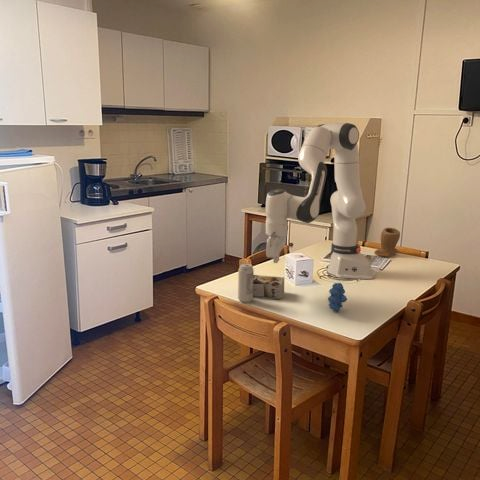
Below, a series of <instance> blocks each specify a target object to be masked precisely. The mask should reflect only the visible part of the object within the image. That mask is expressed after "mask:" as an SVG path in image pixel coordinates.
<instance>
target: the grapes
mask: <svg viewBox="0 0 480 480" xmlns="http://www.w3.org/2000/svg"><path fill="white" fill-rule="evenodd" d="M328 292H329V297H327V301H328V302H329V304H328V306H329V308H330V310H332V311H333V312H335V313H337V312H339V310H340V309H342V308H343V306H344V305H343V303H345V302H347V300H348V299H347V296H346V295H345V294H346V290H345V289H344V286H343V283H342V282H336V283H333V284H332V288H330V289H329V290H328Z"/></svg>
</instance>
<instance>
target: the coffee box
mask: <svg viewBox="0 0 480 480" xmlns="http://www.w3.org/2000/svg"><path fill="white" fill-rule="evenodd" d="M285 278H286V277H283V276H272V275H260V274H253V296H263V297H273V298H278V299H282V298H283V295H284V291H285Z"/></svg>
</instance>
